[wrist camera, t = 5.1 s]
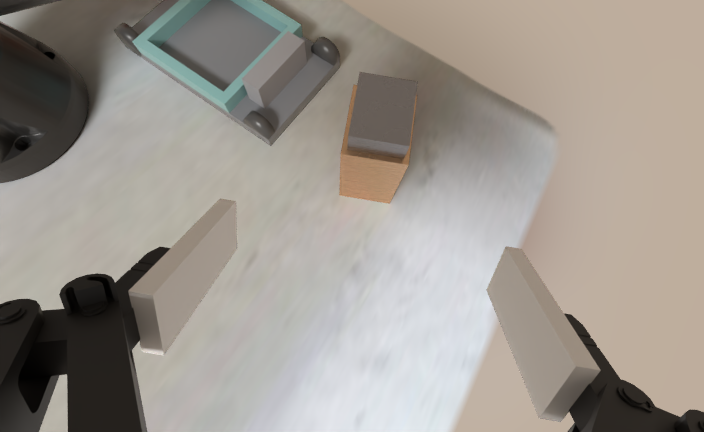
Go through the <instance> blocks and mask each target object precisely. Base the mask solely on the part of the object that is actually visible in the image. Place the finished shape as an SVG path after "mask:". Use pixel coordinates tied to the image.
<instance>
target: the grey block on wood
mask: <svg viewBox="0 0 704 432" xmlns="http://www.w3.org/2000/svg"><path fill="white" fill-rule="evenodd" d="M417 83H418V82H416V81H410V80H404V79H398V78H392V77H386V76H380V75H374V74H368V73H362V72H360V74H359V79H358V85H354V86H353V91H352V97H351V102H350V107H349V113H348V118H347V123H346V129H345V134H344V139H343V145H342V150H341V163H340V194H339V195H341V196H347V197H353V198H359V199H365V200H371V201H377V202H383V203H389V204H390V202H391V200H392V198H393V196H394V194H395V191H396V189H397V187H398V185H399V183H400V181H401V179H402V177H403V175H404V173H405V171H406V169H407V167H408V165H409V158H410V150H411V141H412V133H413V125H414V117H415V109H416V101H417V95H416V91H417Z"/></svg>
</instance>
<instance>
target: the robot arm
mask: <svg viewBox="0 0 704 432" xmlns="http://www.w3.org/2000/svg"><path fill="white" fill-rule="evenodd" d="M56 1H60V0H0V16H1V15H5V14H9V13H13V12H17V11H21V10H25V9H29V8H33V7H37V6H40V5H44V4H48V3H52V2H56ZM87 111H88V93H87V89H86V86H85V83H84V81H83V79H82V77H81V76H80V74H79V73H78V72H77V71H76V70H75V69H74V68H73V67H72V66H71V65H70V64H69V63H68V62H67V61H66V60H65V59H64V58H63V57H61V56H60V55H59V54H58V53H57V52H56V51H54V50H53V49H51V48H50V47H48V46H47V45H45V44H43V43H41V42H39V41H37V40H36V39H34V38H32V37H30V36H28V35H26V34H24V33H22V32H20V31H18V30H16V29H14V28H12V27H10V26H8V25H6V24H4V23H2V22H0V183H4V182H9V181H14V180H17V179H20V178H23V177H26V176H29V175H31V174H33V173H35V172H37V171H39V170H41V169H43V168H45V167H46V166H48V165H49V164H51V163H52V162H53V161H55V160H56V159H57V158H59V157H60V156H61V155H62V154H63V153H64V152H65V151H66V150H67V149H68V148H69V147H70V146H71V144H72V143H73V142H74V140H75V139H76V138H77V136H78V135H79V133H80V131H81V129H82V127H83V125H84V122H85V119H86V116H87ZM236 249H237V222H236V201H231V200H225V199H219V200H218V201H217V202H216V203H215V204H214V205H213V206H212V208H211V209H210V210H209V211H208V212H207V213H206V214H205V215H204V216H203V217H202V218H201V219H200V220H199V221H198V222H197V223H196V224H195V225H194V226H193V227H192V228H191V229H190V230H189V231H188V232H187V233H186V234H185V235H184V236H183V237H182V238H181V239H180V240H179V241H178V242H177V243H176V244H175V245H174V246H173V247H172V248H165V247H159V248H157V249H155V250H153V251H151V252H149V253H147V254H146V255H145V256H144V257H143V258H142V259H140V260H139V261H138V263H136V264H135V265H134V266H133V267H132V268H131V270H129V271H127V272H126V273H125V274H124V275H123V276H122V277H121V278H120V279H119V280H118V281H117V282H116V283H115V282H114V280H113V279H112V277H110V276H108V275H106V274H90V275H85V276H82V277H79V278H76V279H74V280H72V281H71V282H69V283H67V284H66V285H65V286H64V287H63V288H62V289H61V292H60V294H59V295H60V298H61V300H62V303H63V306H64V309H59V310H45V311H42V310H41V308H40V305H39V304H38V303H37V301H34V300H31V299H17V300H13V301H8V302H5V303H3V304H0V432H39V430H40V427H41V424H42V421H43V419H44V416H45V413H46V410H47V408H48V405H49V402H50V400H51V397H52V394H53V391H54V389H55V386H56V383H57V380H58V378H59V375H64V374H67V379H68V432H147V428H146V423H145V417H144V412H143V407H142V401H141V396H140V390H139V385H138V380H137V374H136V369H135V363H134V358H133V353H132V349H133V348H134V347H135V345H136V344H137V343H138V342H139V340H140V345H141V349H142V352H147V353H153V354H159V355H165V353H166V352H167V350H168V349H169V347H170V346H171V344H172V343H173V342H174V340H175V339H176V337H177V336H178V334H179V333H180V331H181V330H182V328H183V327H184V325H185V324H186V323H187V321H188V320H189V318H190V317H191V315H192V314H193V312H194V311H195V309H196V308H197V306H198V305H199V303H200V302H201V301H202V299H203V298H204V296H205V295H206V293H207V292H208V290H209V289H210V287H211V286H212V284H213V283H214V282H215V280H216V279H217V277H218V276H219V274H220V273H221V271H222V270H223V268H224V267H225V265H226V264H227V263H228V261H229V260H230V258H231V257H232V255H233V254H234V252H235V251H236ZM487 292H488V295H489V297H490V300H491V302H492V305H493V307H494V310H495V312H496V314H497V317H498V319H499V322H500V324H501V327H502V329H503V331H504V334H505V336H506V339H507V341H508V344H509V346H510V349H511V351H512V353H513V356H514V358H515V361H516V363H517V366H518V368H519V371H520V373H521V376H522V378H523V380H524V383H525V385H526V388H527V390H528V392H529V395H530V397H531V400H532V402H533V405H534V407H535V410H536V412H537V414H538V417H539V418H540V419H546V420H552V421H558V422H561V421H562V420H563V419H564V417H565V416H566V415H567V413H568V412H570V414H571V416H572V418H573V420H574V422H575V423H574V424H573V426H572V427H571V428H570V429H569V431H568V432H704V412H701V411H698V410H688V411H687V412H686V413H685V414H684V415H683V416H682V417H678V416H676V415H674V414H671V413H669V412H666V411H664V410H662V409H659V408H657V407H655V406H654V404H653V402H652V401H651V399H650V398H649V397H648V396H647V395H646V394H645V393H644V392H643V391H641V390H640V389H638V388H637V387H636V386H634V385H633V384H631V383H629V382H626V381H624V380H621V379H620V378H619V377H618V375H617V374H616V372H615V371H614V369H613V368H612V366H611V365H610V364H609V362H608V361H607V359H606V358H605V356H604V355H603V353H602V352H601V351H600V349H599V348H597V345H596V343H595V342H594V340H593V339H592V338H590V337H591V336H590V335H589V333H588V332H587V330H586V329H585V327H584V326H583V325H582V324H581V323H580V322H579V321H578V320H576V319H575V318H574V317H573V316H572V315H570V314H564V313H563V312H562V310H561V309H560V307H559V306H558V304H557V302H556V301H555V300H554V298H553V296H552V295H551V293H550V292H549V290H548V289H547V287H546V286H545V284H544V283H543V281H542V280H541V278H540V277H539V275H538V274H537V272H536V270H535V269H534V267H533V266H532V264H531V263H530V261H529V260H528V258H527V257H526V255H525V253H524V252H523V250H522V249H518V248H512V247H505V250H504V252H503V254H502V256H501V259H500V261H499V263H498V265H497V268H496V270H495V272H494V274H493V277H492V279H491V281H490V284H489V286H488V288H487Z"/></svg>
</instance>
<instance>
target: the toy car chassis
mask: <svg viewBox="0 0 704 432" xmlns="http://www.w3.org/2000/svg"><path fill="white" fill-rule="evenodd" d="M114 31H115V33H116V35H117V36H118V37H119V38H120V40H121V41H122V42H123V44H124V45H125V46H126V47H127V48H128V49H130V50H131V51H133V52H134V53H136V54H137V55H139V56H140V57H142V58H143V59H145V60H146V61H147V62H149V63H150V64H152V65H153V66H155V67H156V68H158V69H159V70H161V71H162V72H164V73H165V74H166V75H168V76H169V77H171V78H172V79H174V80H175V81H177V82H178V83H180V84H181V85H183V86H184V87H185V88H187V89H188V90H190V91H191V92H193V93H194V94H196V95H197V96H199V97H200V98H202V99H203V100H205V101H206V102H207V103H209V104H210V105H212V106H213V107H215V108H216V109H218V110H219V111H221V112H222V113H224V114H225V115H226V116H228V117H229V118H231V119H232V120H234V121H235V122H237V123H238V124H240V125H241V126H243V127H244V128H245V129H247V130H248V131H250V132H251V133H253V134H254V135H256V136H257V137H259V138H260V139H262V140H263V141H264V142H266V143H267V144H269V145H270V146H271V145H272V144H273V143H274V142H275V140H276V139H277V138H278V137H279V136H280V135H281V134H282V132H283V131H284V130H285V129H286V128H287V127H288V126H289V124H290V123H291V122H292V121H293V120H294V119H295V118H296V116H297V115H298V114H299V113H300V112H301V111H302V110H303V108H304V107H305V106H306V105H307V104H308V103H309V102H310V100H311V99H312V98H313V97H314V96H315V95H316V94H317V92H318V91H319V90H320V89H321V88H322V87H323V86H324V84H325V83H326V82H327V81H328V80H329V79H330V78H331V76H332V75H333V74H334V73H335V72H336V71H337V70H338V69H339V67H340V54H339V51H338V49H337V48H336V46H335V45H334V44H333V43H332V42H331V41H330V40H329V39H327V38H325V37H320V38H318V39H317V41H316V42H315V43H313V42H311V41H310V40H308V39H307V38H305V37H303V35H302V27H301V24H299V23H298V22H296V21H294V20H293V19H291V18H290V17H288V16H286V15H285V14H283V13H282V12H280V11H278V10H277V9H275V8H273V7H272V6H270V5H269V4H267V3H265V2H264V1H262V0H163V1H162V2H161V3H160V4H159V5H158V6H156V7H155V8H154V9H153V10H152V11H151V12H149V13H148V14H147V15H146V16H145V17H144V18H143V19H141V20H140V21H139V22H138V23H137V24H136V25H134V26H133V27H132V28H131V27H130V26H129V25H127V24H125V23H122V24H121V25H120V26H118V27H117V28H116V29H115V30H114Z"/></svg>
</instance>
